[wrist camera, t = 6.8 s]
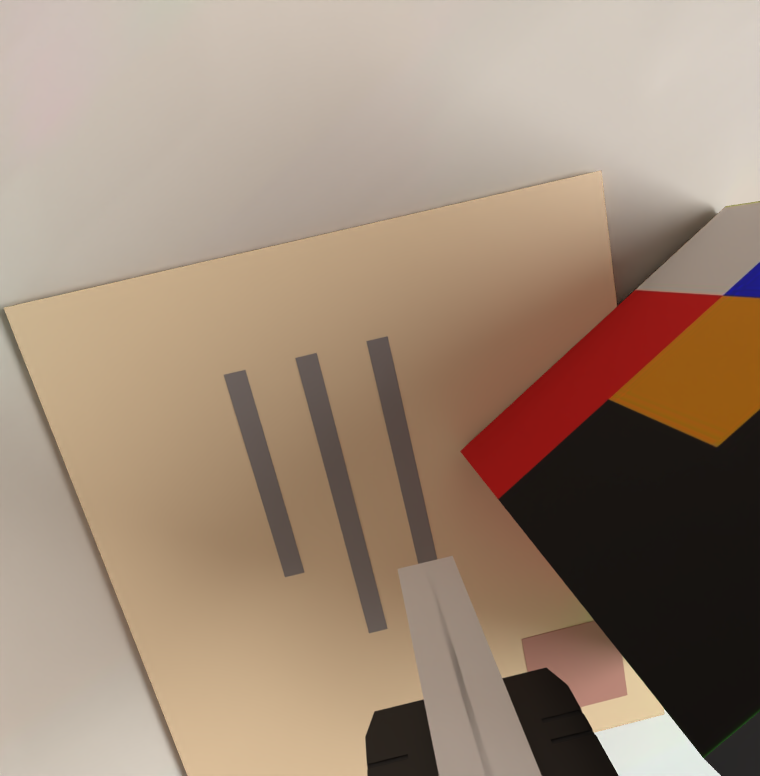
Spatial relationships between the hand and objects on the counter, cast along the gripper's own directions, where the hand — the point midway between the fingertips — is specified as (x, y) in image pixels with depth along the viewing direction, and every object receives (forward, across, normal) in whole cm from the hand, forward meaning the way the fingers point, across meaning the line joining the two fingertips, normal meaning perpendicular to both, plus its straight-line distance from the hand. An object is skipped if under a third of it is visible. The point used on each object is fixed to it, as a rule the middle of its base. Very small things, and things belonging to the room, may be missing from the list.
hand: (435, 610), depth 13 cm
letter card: (+3, -1, +1) cm, 4 cm away
